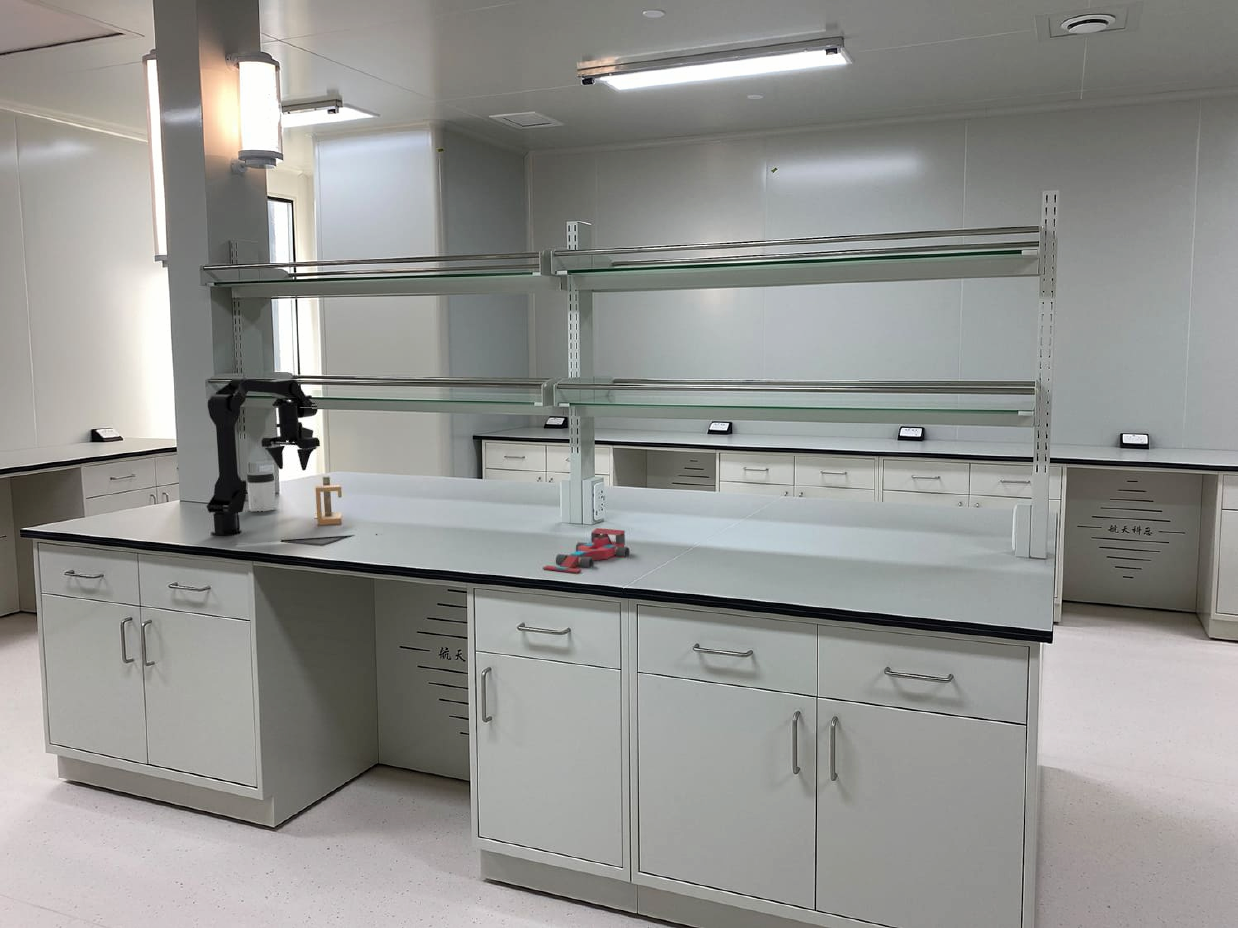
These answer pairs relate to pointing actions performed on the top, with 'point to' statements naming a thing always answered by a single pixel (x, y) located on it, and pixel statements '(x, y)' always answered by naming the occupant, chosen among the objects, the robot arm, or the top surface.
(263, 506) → the jar
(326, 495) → the hook stand
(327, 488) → the c hook
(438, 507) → the top surface
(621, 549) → the race car
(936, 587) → the top surface
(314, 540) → the rubber mat
